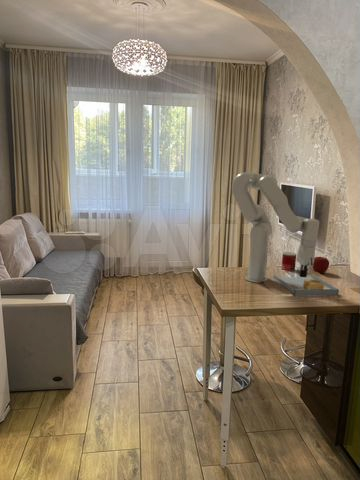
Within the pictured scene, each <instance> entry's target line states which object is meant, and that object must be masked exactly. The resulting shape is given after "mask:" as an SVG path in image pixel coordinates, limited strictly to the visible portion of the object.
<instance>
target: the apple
mask: <svg viewBox="0 0 360 480" xmlns="http://www.w3.org/2000/svg"><path fill="white" fill-rule="evenodd" d="M329 266H330V261H329V259H328V258H327V257H324V256H315V257H314V263H313V265H312V269H313V272H316V273H317V274H325V273H326V272H327V271H328V269H329Z"/></svg>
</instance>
